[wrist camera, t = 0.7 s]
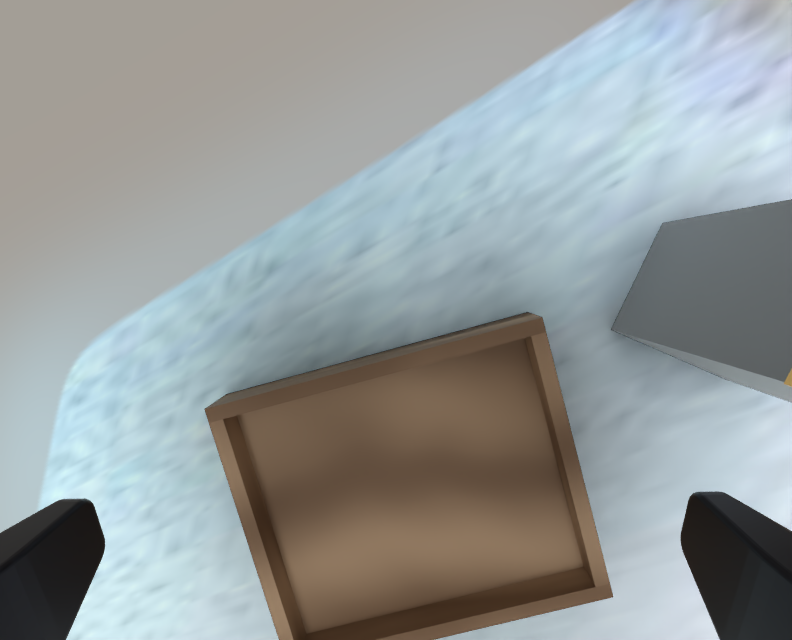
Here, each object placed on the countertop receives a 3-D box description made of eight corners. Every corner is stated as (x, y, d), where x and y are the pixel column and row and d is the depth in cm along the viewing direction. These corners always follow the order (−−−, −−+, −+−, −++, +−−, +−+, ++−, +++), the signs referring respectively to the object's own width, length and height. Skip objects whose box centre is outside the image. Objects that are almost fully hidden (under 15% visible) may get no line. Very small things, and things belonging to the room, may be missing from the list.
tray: (591, 562, 23) (613, 596, 20) (302, 632, 24) (290, 673, 21) (527, 312, 22) (542, 317, 19) (226, 394, 23) (204, 409, 20)
